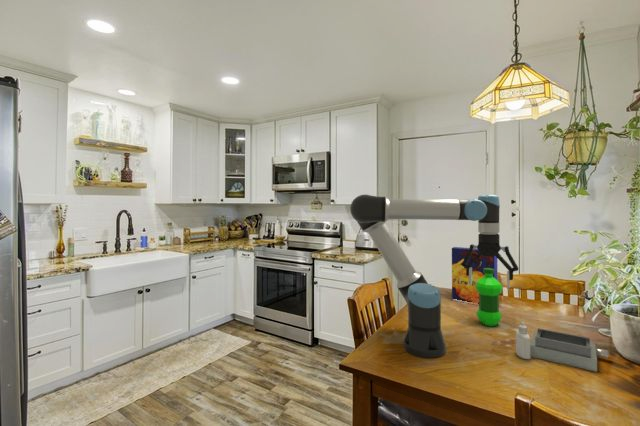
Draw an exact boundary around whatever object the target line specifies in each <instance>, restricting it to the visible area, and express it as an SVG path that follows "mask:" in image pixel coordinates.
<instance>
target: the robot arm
mask: <svg viewBox="0 0 640 426" xmlns="http://www.w3.org/2000/svg"><path fill="white" fill-rule="evenodd" d="M500 207H501V206H500V197H499V196H498V195H497V194H482V195H479V196H478V198H477V199H475V198H473V199H472V198H471V199H406V198H405V199H403V198H402V199H401V198H400V199H399V198H397V199H395V198H393V199H389V198H388V197H387V196H376V195H370V194H360V195H358V196H356V197H355V198H354V199H353V200H352V201H351V203H350V207H349V208H350V214H351V217H352V218H353V219H354V220H355V221H356V222H357V224H358V226H359V227H360V229H361V230H362V232H365V233H366V234H368V235H369V237H370V238H371V241H373V243H374V245H375V246H376V248H377V250H378V251H379V253H380V254H381V256H382V257H383V259H384V261H385V262H386V265H387V266H388V268H389V269H390V271H391V273H392V274H393V275H394V277H395V279H396V280H397V282H396V283H397V284H396V288H397V289H398V290H399V293H400V294H401V296H402V297H403V298H404V301H405V302H406V303H405V304H406V306H407V311H408V312H407V314H408V315H407V317H408V318H407V320H408V321H407V322H408V324H407V325H408V326H407V327H408V328H407V330H406V333H405V336H404V338H403V348H404V350H405V351H406V352H408V353H409V354H411V355H414V356H416V357H420V358H427V359H428V358H432V359H433V358H439V357H443V356H444V355H445V354H446V353H447V345H446V341H445V339H444V335H443V332H442V329H441V327H442V326H441V324H442V323H441V322H442V321H441V320H442V319H441V317H442V316H441V313H442V311H441V309H442V308H441V303H442V297H441V291H440V288H438V287H437V286H436V285H432V284H431V283H428V281H427V280H426V279H425V277H424V275H423V274H422V272H419V271H417V270H416V269H415V267H414V266H413V264H412V262H411V261H410V259H409V258H408V256H407V255H406V253H405V251H404V250H403V248H402V247H401V245H400V243H399V242H398V240H397V238H396V237H395V236H394V233H393V232H392V231H391V229H390V227H389V226H388V224H387V221H388V220H423V221H424V220H428V221H429V220H433V221H434V220H437V221H438V220H441V221H446V220H448V221H449V220H450V221H473V222H475V221H478V230H477V231H478V233H479V234H478V235H477V237H478V239H477V240H478V241H477V243H478V244H473V243H471V244H470V245H469V248H470V249H469V252H468V253H467V255H466V257H465V259H464V261H463V262H462V264H461V265H462V266H464V267H466V275H467V276H469V284H472V268H470V266H471V265H472V264H473V263H474V262H475V261H476V260H477V259H478V258H479V257H480V256H481V255H483V256H490V257H494V256H496V257H497V260H499V262H501V264H502V265H503V266H504V267H505V268H506V269H507V271H506V289H508V290H510V287H511V281H513V279H514V272H517V271H519V269H520V268H519V267H518V264H517V263H516V261H515V259H514V257H513V256H512V254H511V252H510V249H509V245H504V246H501V245H500V234H499V233H500ZM475 249H478V250H479V251H480V252H479V253H478V254H477V256H476V257H475V258H474V259H473V260H472V261H471V262H470V263H469V264H466V263H467V261H468V259H469V257H470V256H471V254H472V252H473V250H475ZM501 250H502V252H503V253H504V254H505V255H506V257H507V259H508V261H509V262H507V260H506V259H504V257H503V256H502V255H501V254H500V253H499V252H500V251H501ZM509 263H510V264H511V265H510V264H509Z"/></svg>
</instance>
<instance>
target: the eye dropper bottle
mask: <svg viewBox="0 0 640 426" xmlns="http://www.w3.org/2000/svg"><path fill="white" fill-rule="evenodd" d="M530 344H531V336H530V335H529V334H528V326H526V324H525V322H522V321H521V324H520V325H519V326H518V331H517V332H516V333H515V354H516V355H517V356H518V357H519V358H521V359H523V360H531V357H530Z"/></svg>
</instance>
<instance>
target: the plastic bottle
mask: <svg viewBox="0 0 640 426" xmlns="http://www.w3.org/2000/svg"><path fill="white" fill-rule="evenodd" d="M483 273H485V276H484V277H483V278H481V279H480V280H479V281H477V283H476V290H477V291H478V292H479V305H478V310H477V312H476V317H477V319H478V320H479V321H480V322H481V323H482V324H483V325H484V324H485V325H484V326H487V325H489V326H490V327H494V326H495V327H496V325H497V324H499V323H500V322H501V320H502V314H501V311H500V295H501V294H502V292H503V286H502V283H501V282H499V280H498V279H497V280H496V279H495V278H494V277H493V274H494V269H492V268H484V269H483ZM489 326H488V327H489Z"/></svg>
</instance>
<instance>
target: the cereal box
mask: <svg viewBox="0 0 640 426" xmlns="http://www.w3.org/2000/svg"><path fill="white" fill-rule="evenodd" d="M469 249H470V247H461V246H453V247H451V299H452V298H453V299H457V300H462V301H467V302H473V303H478V304H479V292H478V291H477V290H476V283H477V281H479V280H480V279H481V278H483V277H484V276H485V273H483V269H484V268H492V269H494V274H493V277H494V278H495V279H496V280H497V281H498V258H497V257H496V256H494V257H490V256H483V255H481V256H480V257H479V258H478V259H477V260H476V261H475V262H474V263H473V264H472V265H471V266H470V268H472V284H469V276H467V275H466V267H464V266H462V265H461V264H462V262H463V261H464V259H465V257H466V255H467V253H468V252H469ZM479 252H480V251H479V250H478V249H477V248H476V249H475V250H473V252H472V254H471V256H470V257H469V259H468V261H467V263H466V264H469V263H470V262H471V261H472V260H473V259H474V258H475V257H476V256H477V254H478V253H479Z"/></svg>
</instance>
